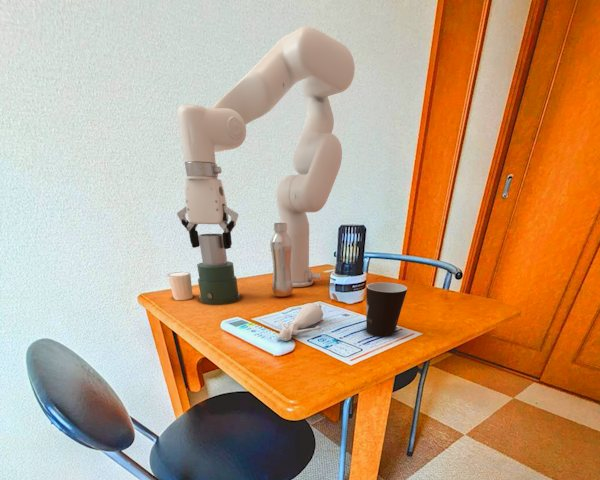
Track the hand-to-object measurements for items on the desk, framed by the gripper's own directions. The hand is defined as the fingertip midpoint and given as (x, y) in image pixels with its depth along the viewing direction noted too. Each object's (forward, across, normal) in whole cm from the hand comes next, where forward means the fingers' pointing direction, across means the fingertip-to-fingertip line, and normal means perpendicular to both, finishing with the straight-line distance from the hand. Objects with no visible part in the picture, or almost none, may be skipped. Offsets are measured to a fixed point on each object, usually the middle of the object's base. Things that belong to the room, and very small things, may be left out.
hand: (211, 247), depth 87 cm
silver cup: (+4, 0, 0) cm, 4 cm away
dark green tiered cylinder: (+14, 0, 0) cm, 14 cm away
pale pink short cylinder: (+15, +12, +1) cm, 19 cm away
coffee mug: (+14, -49, +16) cm, 54 cm away
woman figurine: (+14, -30, +20) cm, 39 cm away
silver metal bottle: (+14, -18, -8) cm, 24 cm away
